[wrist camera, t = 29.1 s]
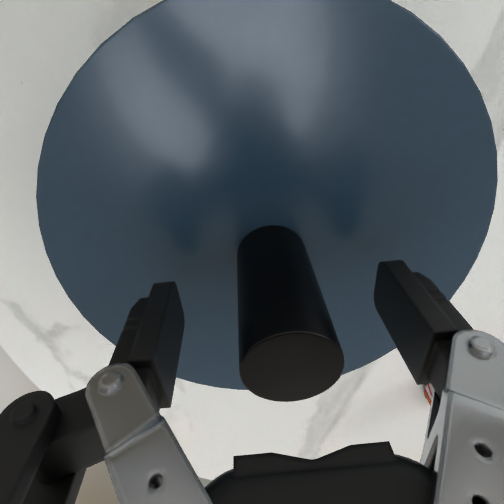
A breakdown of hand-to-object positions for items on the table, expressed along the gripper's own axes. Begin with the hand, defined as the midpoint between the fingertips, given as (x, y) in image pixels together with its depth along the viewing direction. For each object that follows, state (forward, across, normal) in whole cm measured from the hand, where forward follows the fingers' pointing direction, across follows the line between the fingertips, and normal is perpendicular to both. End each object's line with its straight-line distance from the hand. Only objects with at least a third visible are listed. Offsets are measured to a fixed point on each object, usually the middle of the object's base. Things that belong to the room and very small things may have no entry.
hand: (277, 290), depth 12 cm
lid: (+3, 0, 0) cm, 3 cm away
